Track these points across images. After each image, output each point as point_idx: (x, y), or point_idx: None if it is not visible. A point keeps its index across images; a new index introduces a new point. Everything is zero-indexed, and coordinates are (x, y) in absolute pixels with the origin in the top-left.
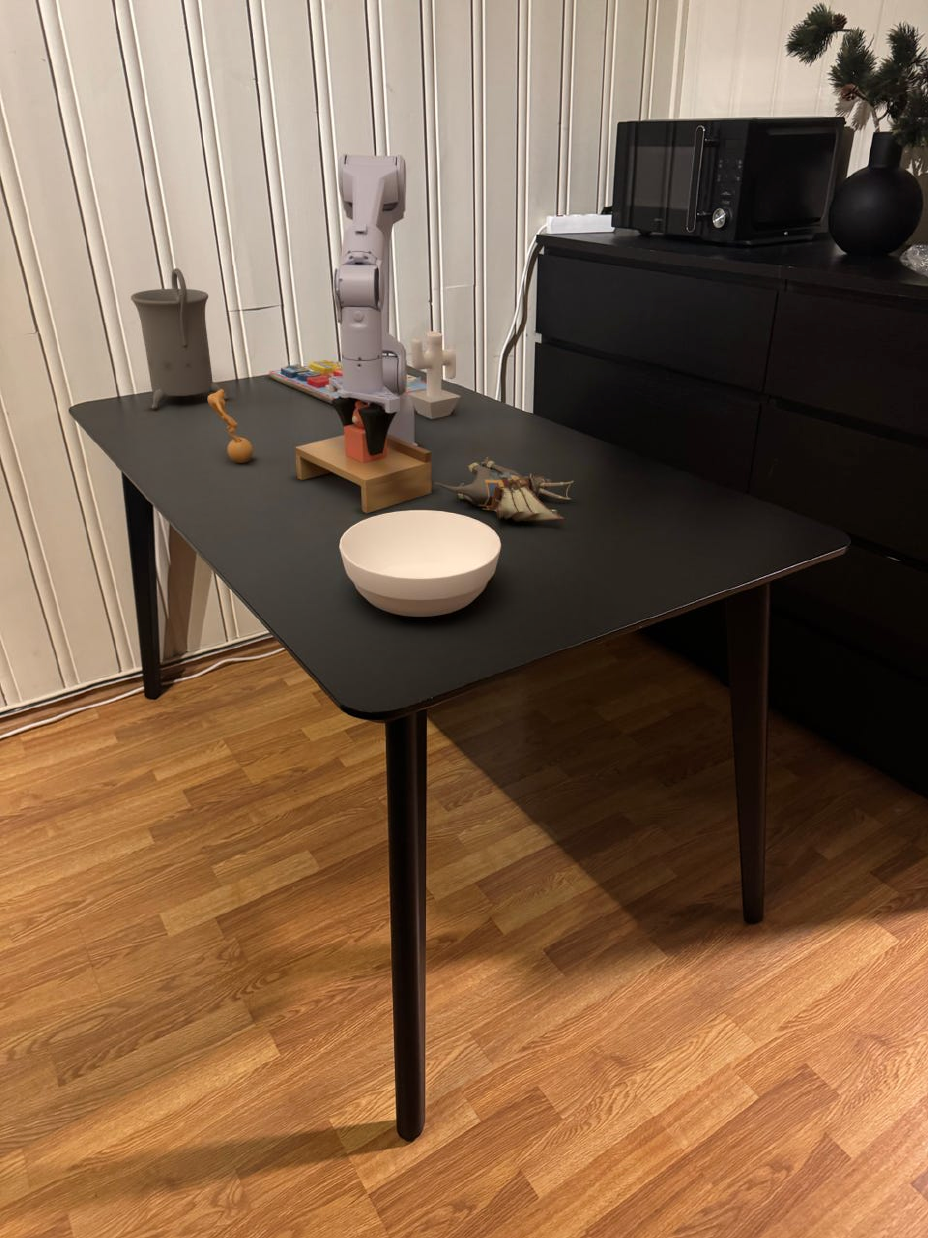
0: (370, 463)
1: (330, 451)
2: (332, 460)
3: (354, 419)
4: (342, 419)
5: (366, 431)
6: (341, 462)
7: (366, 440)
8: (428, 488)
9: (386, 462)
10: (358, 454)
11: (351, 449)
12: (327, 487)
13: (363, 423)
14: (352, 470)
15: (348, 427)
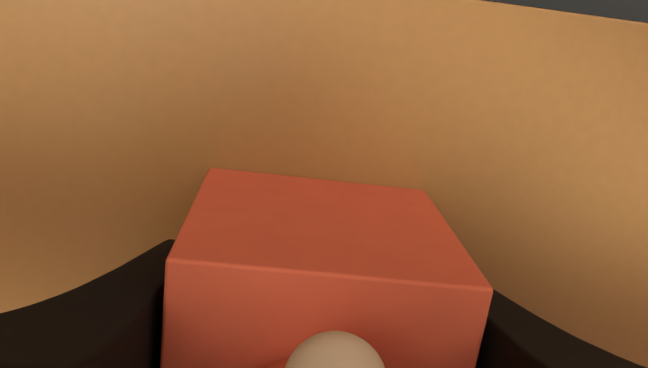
0: (165, 196)
1: (561, 167)
2: (414, 46)
3: (314, 352)
4: (573, 350)
5: (118, 302)
6: (334, 66)
7: None
8: None
9: None
10: (257, 186)
11: (353, 202)
12: None
13: (112, 334)
14: (137, 1)
15: (432, 298)
